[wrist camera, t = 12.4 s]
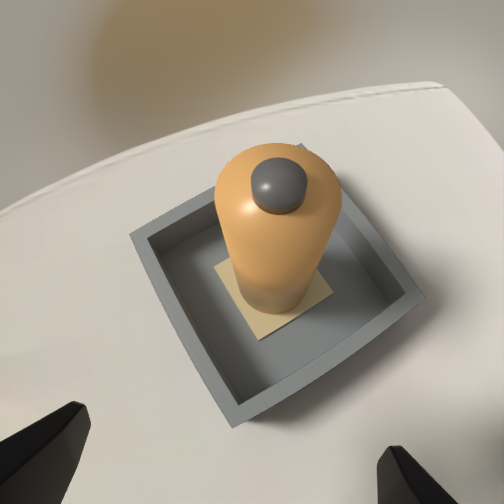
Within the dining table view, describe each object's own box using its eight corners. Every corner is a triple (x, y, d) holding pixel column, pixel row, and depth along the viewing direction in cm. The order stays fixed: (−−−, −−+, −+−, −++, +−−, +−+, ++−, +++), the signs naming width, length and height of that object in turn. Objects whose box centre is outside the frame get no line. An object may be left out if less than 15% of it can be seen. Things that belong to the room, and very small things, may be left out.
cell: (319, 265, 22) (363, 159, 12) (288, 326, 21) (314, 266, 10) (258, 236, 23) (251, 116, 13) (225, 293, 22) (185, 205, 11)
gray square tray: (402, 311, 22) (425, 297, 18) (238, 420, 20) (232, 428, 16) (297, 174, 27) (301, 143, 23) (148, 256, 25) (129, 234, 21)
